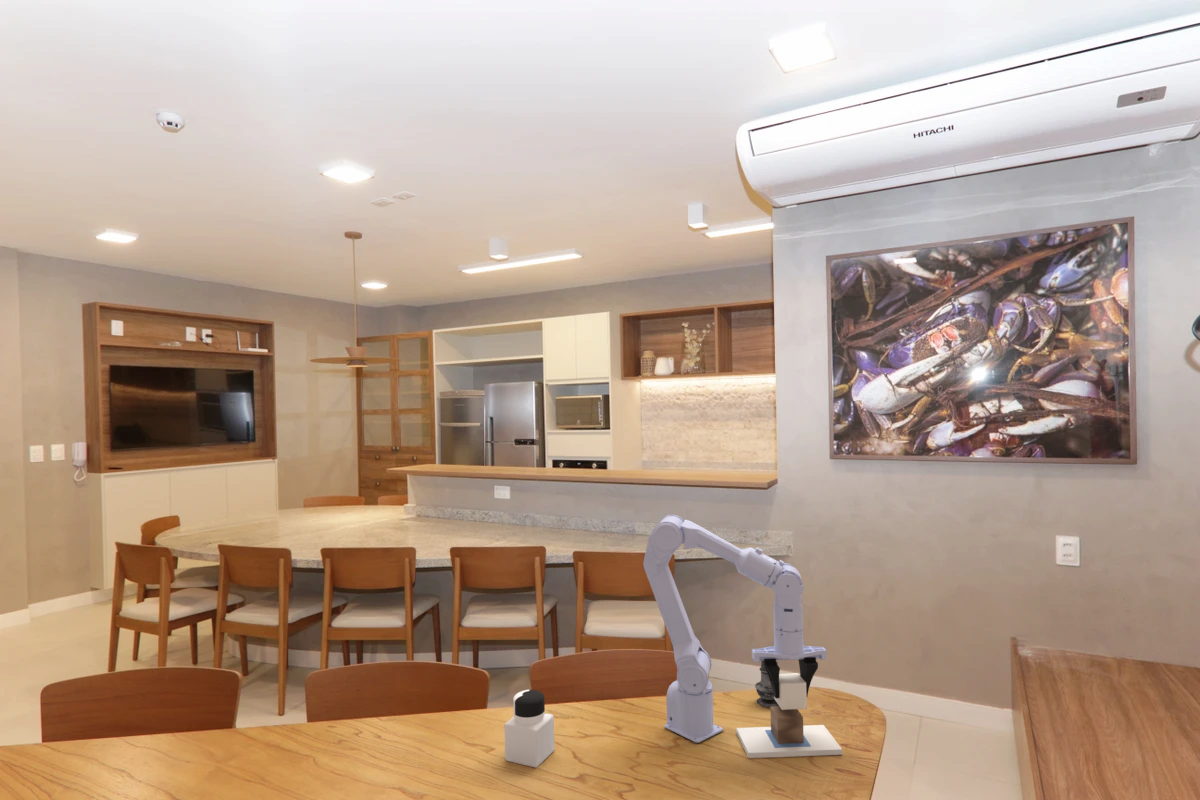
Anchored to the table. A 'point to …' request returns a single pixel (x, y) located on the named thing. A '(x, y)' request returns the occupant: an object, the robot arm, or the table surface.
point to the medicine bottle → (529, 730)
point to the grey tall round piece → (765, 690)
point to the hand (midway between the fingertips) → (790, 695)
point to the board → (765, 745)
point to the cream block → (792, 692)
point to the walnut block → (786, 725)
